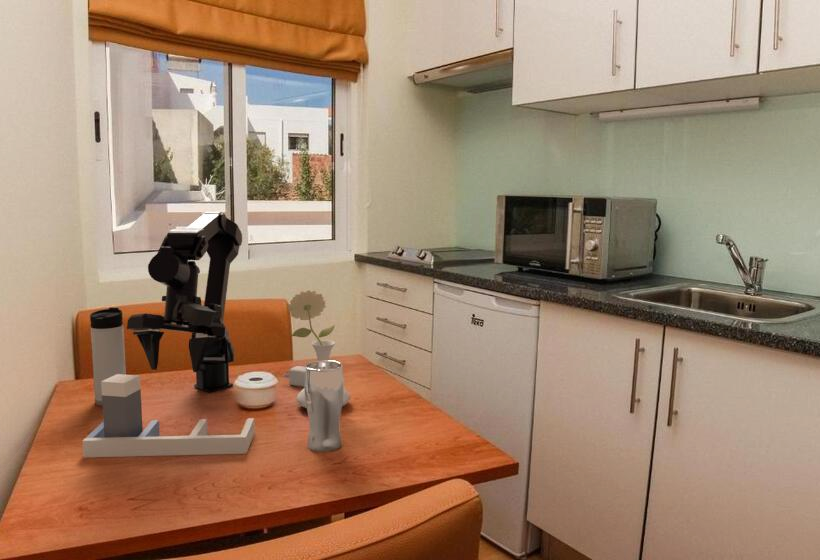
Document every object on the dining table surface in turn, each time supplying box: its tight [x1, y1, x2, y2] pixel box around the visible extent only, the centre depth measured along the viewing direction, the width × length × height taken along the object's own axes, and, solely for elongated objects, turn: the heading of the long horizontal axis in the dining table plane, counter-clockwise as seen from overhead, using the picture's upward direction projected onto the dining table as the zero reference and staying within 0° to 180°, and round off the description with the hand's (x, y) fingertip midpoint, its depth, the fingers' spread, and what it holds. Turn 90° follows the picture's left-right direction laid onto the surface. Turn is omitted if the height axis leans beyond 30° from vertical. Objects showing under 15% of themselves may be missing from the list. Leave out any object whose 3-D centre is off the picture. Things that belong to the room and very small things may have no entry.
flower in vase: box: [287, 290, 351, 409], centre depth 133 cm, size 13×11×25 cm
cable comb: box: [82, 417, 256, 459], centre depth 113 cm, size 27×9×3 cm, turn 95°
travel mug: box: [89, 307, 127, 407], centre depth 134 cm, size 6×7×20 cm
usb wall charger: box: [281, 365, 306, 388], centre depth 150 cm, size 4×7×4 cm, turn 69°
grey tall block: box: [101, 374, 144, 438], centre depth 112 cm, size 4×4×12 cm
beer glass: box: [303, 359, 345, 453], centre depth 113 cm, size 7×7×15 cm
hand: (175, 370), depth 122 cm, fingers open, 9 cm apart
